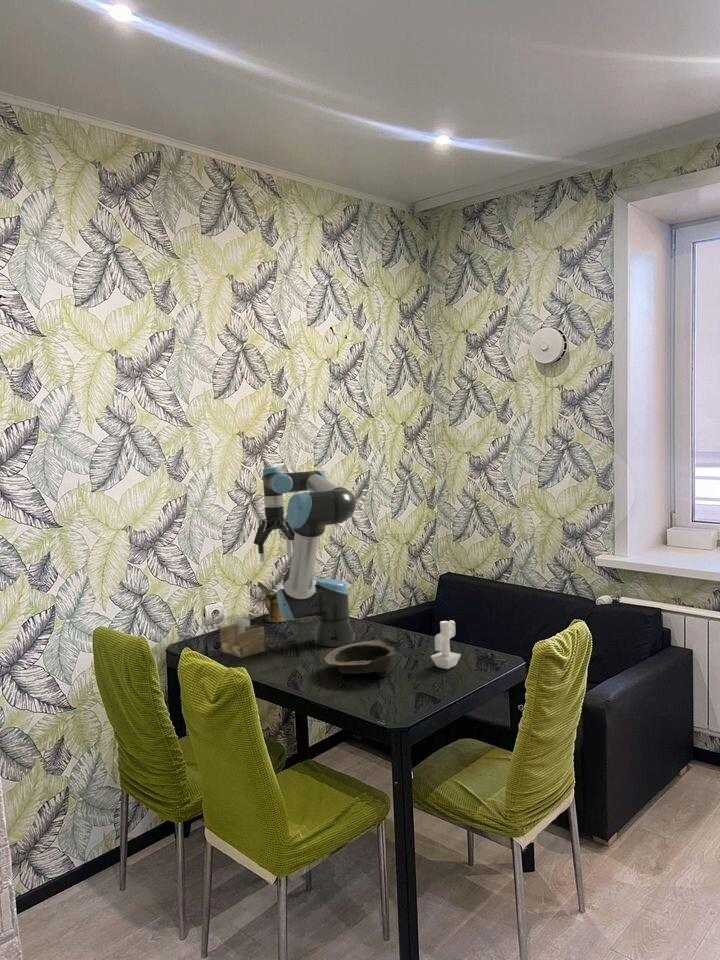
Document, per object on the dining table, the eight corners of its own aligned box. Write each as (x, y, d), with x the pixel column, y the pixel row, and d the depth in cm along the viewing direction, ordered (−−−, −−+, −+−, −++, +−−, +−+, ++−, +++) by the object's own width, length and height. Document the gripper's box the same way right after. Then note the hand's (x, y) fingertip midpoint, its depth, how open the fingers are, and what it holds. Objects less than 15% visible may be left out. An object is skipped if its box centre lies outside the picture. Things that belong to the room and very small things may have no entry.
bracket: (255, 648, 269) (253, 619, 268) (242, 652, 265) (240, 622, 264) (244, 645, 274) (242, 616, 273) (230, 649, 270) (229, 619, 269)
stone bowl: (416, 672, 238) (414, 644, 236) (351, 696, 225) (348, 667, 223) (374, 653, 258) (372, 628, 257) (313, 674, 245) (309, 647, 244)
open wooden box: (265, 650, 269) (264, 626, 268) (241, 658, 262) (240, 633, 261) (245, 644, 278) (243, 621, 277) (221, 651, 271) (219, 627, 270)
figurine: (428, 667, 242) (426, 623, 241) (445, 660, 249) (444, 616, 248) (446, 672, 237) (444, 626, 236) (463, 664, 244) (461, 619, 243)
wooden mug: (254, 622, 309) (252, 580, 308) (282, 616, 317) (280, 575, 316) (265, 626, 302) (263, 583, 301) (293, 620, 310) (291, 577, 309)
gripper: (292, 502, 305) (295, 553, 306) (242, 509, 287) (245, 562, 289) (304, 503, 299) (306, 554, 301) (254, 510, 282) (257, 564, 284)
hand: (277, 558), depth 295 cm, fingers open, 13 cm apart
